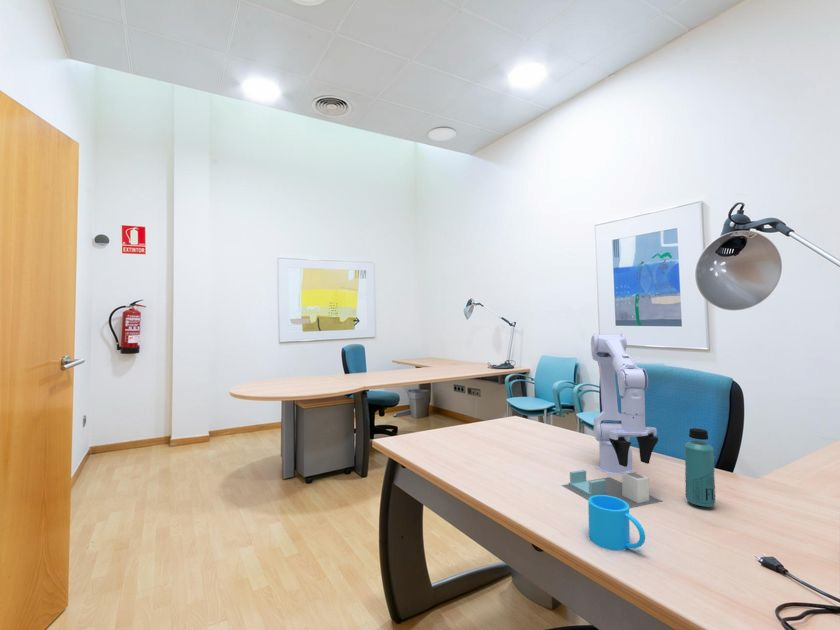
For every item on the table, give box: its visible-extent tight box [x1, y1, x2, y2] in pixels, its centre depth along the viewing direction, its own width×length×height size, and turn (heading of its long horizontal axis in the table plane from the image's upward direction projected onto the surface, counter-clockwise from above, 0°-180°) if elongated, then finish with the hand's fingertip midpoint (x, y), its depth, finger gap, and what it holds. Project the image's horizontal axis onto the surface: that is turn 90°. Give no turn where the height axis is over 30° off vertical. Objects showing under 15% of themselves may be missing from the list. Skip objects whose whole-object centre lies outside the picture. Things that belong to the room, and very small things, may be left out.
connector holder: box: [568, 469, 608, 497], centre depth 115 cm, size 6×8×4 cm
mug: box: [587, 495, 646, 551], centre depth 87 cm, size 12×8×8 cm
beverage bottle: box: [684, 427, 717, 508], centre depth 105 cm, size 6×7×20 cm
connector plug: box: [621, 471, 650, 503], centre depth 109 cm, size 4×5×6 cm
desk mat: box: [561, 476, 663, 509], centre depth 112 cm, size 18×18×1 cm
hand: (634, 464), depth 109 cm, fingers open, 7 cm apart
